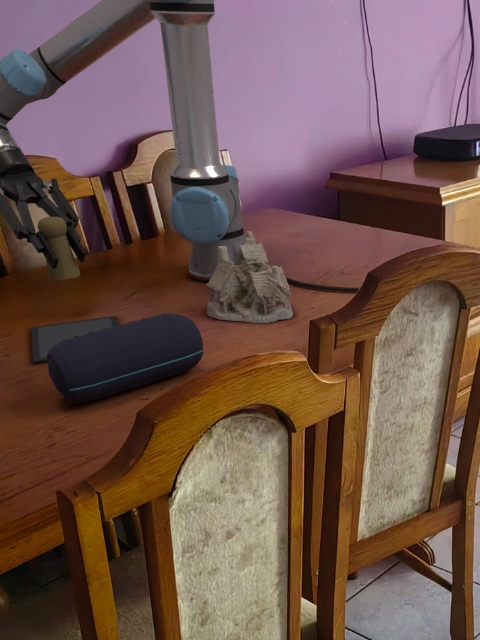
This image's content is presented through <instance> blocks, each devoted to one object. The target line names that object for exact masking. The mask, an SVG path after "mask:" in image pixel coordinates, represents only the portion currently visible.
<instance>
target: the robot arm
mask: <svg viewBox="0 0 480 640" xmlns="http://www.w3.org/2000/svg"><path fill="white" fill-rule="evenodd" d="M215 14H216V10H215V0H100V1H98V2H97V3H96V4H94V5H93V6H92V7H90V8H89V9H88V10H87V11H85V12H84V13H82V14H81V15H79V16H78V17H77V18H75V19H74V20H73V21H72V22H70V23H69V24H68V25H66V26H65V27H63V28H62V29H61V30H59V31H57V33H55V34H54V35H53V36H51V37H50V38H49V39H46V40H45V42H43V43H42V44H41V45H40V46H38V47H37V48H35V49H33V50H32V51H31V52H30V53H27V52H26V51H23V49H20V48H13V49H11V50H10V52H8V53H7V54H6V55H5V56H2V58H0V213H1V215H2V216H3V218H4V220H5V221H6V223H7V225H8V226H9V228H10V229H11V232H12V233H13V235H14V236H15V238H16V239H17V240H19V241H22V240H23V239H25V240H26V242H27V243H28V244H31V245H32V246H33V247H34V249H35V251H36V252H37V253H38V254H42V255H43V256H44V258H45V259H47V261H48V262H49V264H50V265H51V267H52V269H54V268H57V264H58V261H59V259H58V258H57V256H56V254H55V253H54V251H53V250H52V248H51V247H50V245H49V244H48V242H47V240H46V239H45V237H44V236H43V234H42V233H41V231H39V230H38V231H36V228H35V225H34V222H33V221H34V220H33V218H32V215H31V212H30V209H29V206H28V205H29V204H35V206H36V207H37V208H39V209H42V210H43V211H44V213H46V214H47V215H48V217H60V218H62V219H63V220H64V221H65V223H66V225H67V232H66V237H67V240H68V242H69V245H70V247H71V250H72V252H73V254H74V256H76V258H77V259H78V261H79V262H80V263H82V262H85V259H86V256H87V251H86V249H85V248H84V247H83V245H82V244H81V242H82V237H81V235H80V234H79V232H78V230H77V227H78V223H79V220H80V217H79V215H78V214H77V212H76V211H75V210H74V208H73V206H72V205H71V203H70V202H69V201H68V199H67V197H66V196H65V194H63V192H62V191H61V189H60V186H59V181H58V180H57V178H51V179H50V180H43V179H42V177H40V176H39V175H37V173H36V172H35V170H34V167H33V166H32V164H31V163H30V161H29V159H28V157H27V156H26V155H25V154H24V152H23V150H22V148H21V146H20V145H19V143H18V142H17V141H16V139H15V138H14V136H13V135H12V133H11V132H10V129H8V126H7V124H8V123H10V121H12V120H13V119H14V118H15V117H16V115H17V114H19V113H20V112H21V110H23V108H25V106H27V105H28V104H32V103H35V102H38V101H40V100H47V99H49V98H50V97H52V96H53V95H55V94H56V93H57V92H58V90H59V89H60V88H62V87H63V86H64V85H66V84H67V83H68V82H70V80H72V79H73V78H74V77H76V76H77V75H79V74H80V73H82V72H83V71H84V70H86V69H88V68H89V67H90V66H91V65H93V64H95V63H96V62H97V61H98V60H100V59H101V58H103V57H104V56H105V55H107V54H108V53H110V52H111V51H113V50H114V49H115V48H116V47H118V46H119V45H120V44H122V43H124V42H125V41H126V40H127V39H129V38H130V37H132V36H133V35H135V34H136V33H137V32H139V31H141V30H142V29H143V28H144V27H146V26H148V24H150V23H152V22H153V21H154V20H157V21H158V22H159V24H160V32H161V34H160V35H161V42H162V51H163V59H164V67H165V68H164V69H165V77H166V85H167V95H168V102H169V111H170V120H171V121H170V122H171V128H172V136H173V146H174V155H175V161H176V162H175V165H174V166H172V169H170V171H169V179H170V186H171V195H172V198H171V201H170V204H169V217H170V222H171V224H172V226H173V228H174V230H175V231H176V233H177V234H178V236H181V238H182V239H183V240H185V241H187V242H188V243H190V244H191V248H190V254H189V255H190V256H189V261H188V273H189V276H190V278H192V279H193V280H197V281H201V282H207V283H209V280H210V279H211V277H212V274H214V272H215V270H216V268H217V265H218V247H219V246H226V248H227V252H228V256H229V261H231V262H233V263H235V265H236V266H237V265H240V263H239V261H238V258H239V248H240V247H239V246H242V245H244V238H245V237H246V236H245V229H244V222H243V215H242V205H241V204H242V203H241V197H240V189H239V182H240V181H239V178H238V174H237V170H236V168H235V167H234V166H233V165H228V164H227V165H226V164H225V165H223V164H222V163H221V161H220V160H221V159H220V158H221V157H220V147H219V137H218V125H217V115H216V114H217V113H216V104H215V103H216V102H215V93H214V91H215V90H214V82H213V69H212V58H211V57H212V56H211V47H210V37H209V35H210V34H209V23H210V21H211V20H212V18H213V17H215ZM43 189H44V190H45V191H46V192H47V193H46V192H45V191H44V190H43ZM48 195H50V197H51V199H52V200H51V199H50V197H48ZM7 198H8V199H10V200H11V201H13V202H14V205H15V207H16V211H17V212H18V215H19V217H20V219H19V217H18V215H17V214H16V212H15V210H14V209H13V208H12V206H11V204H10V202H9V201H8V200H7ZM47 261H46V262H47ZM285 277H286V276H285ZM286 280H287V282H288V283H289V284H293V285H296V286H300V287H305V288H311V289H317V290H324V291H333V292H334V291H337V292H356V293H358V292H357V291H358V290H359V288H360V287H346V286H332V285H322V284H315V283H309V282H304V281H299V280H296V279H292V278H290V277H286Z"/></svg>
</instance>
